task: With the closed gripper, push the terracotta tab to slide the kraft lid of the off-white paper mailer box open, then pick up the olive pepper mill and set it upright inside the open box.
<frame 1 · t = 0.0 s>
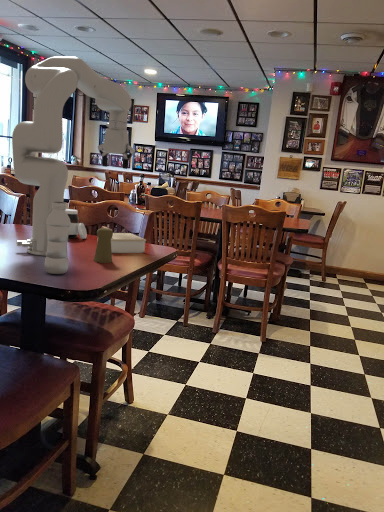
hand: (114, 167, 174), 31 cm above the table, tool pointing down, fingers open, 9 cm apart
olive pepper mill: (103, 261, 134), on the table
spread jar: (72, 238, 171), on the table
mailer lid: (121, 233, 156), point 6 cm above the table, slide at 0.0 cm
plastic bottle: (56, 274, 112), on the table
mailer box: (120, 249, 157), on the table
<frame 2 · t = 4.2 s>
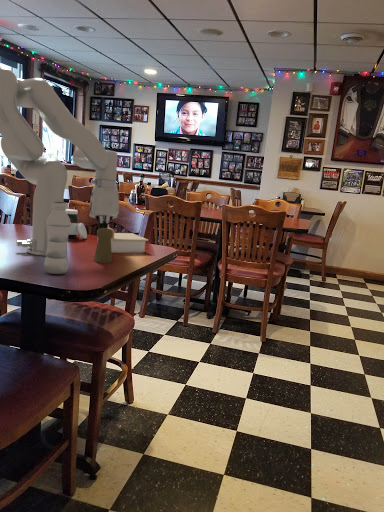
hand: (102, 233, 152), 6 cm above the table, tool pointing down, fingers closed
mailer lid: (123, 233, 157), point 6 cm above the table, slide at 0.9 cm, touching gripper
everything else where it was.
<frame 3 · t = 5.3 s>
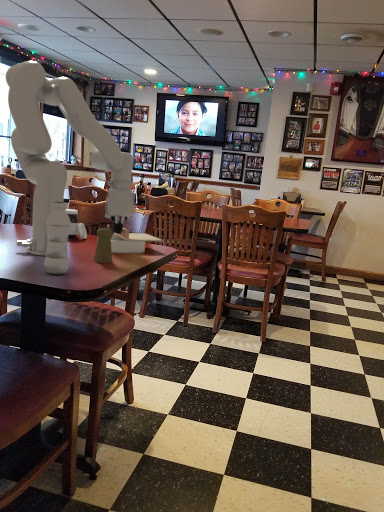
hand: (117, 233, 155), 6 cm above the table, tool pointing down, fingers closed
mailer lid: (137, 233, 160), point 6 cm above the table, slide at 7.0 cm, touching gripper
everything else where it was.
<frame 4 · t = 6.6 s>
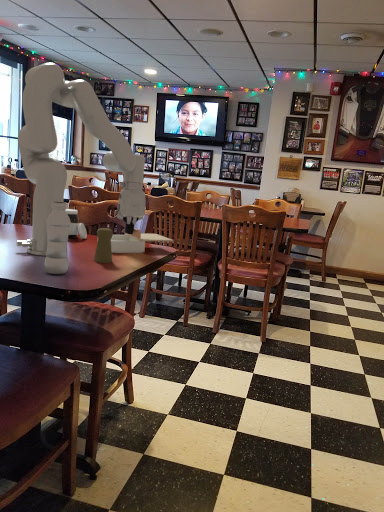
hand: (129, 233, 158), 6 cm above the table, tool pointing down, fingers closed
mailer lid: (148, 233, 163), point 6 cm above the table, slide at 11.9 cm, touching gripper
everything else where it was.
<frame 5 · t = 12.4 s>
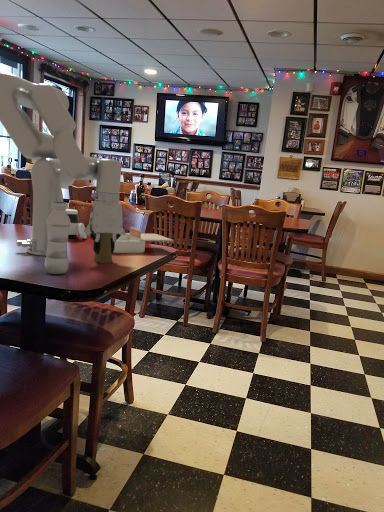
hand: (103, 252, 133), 3 cm above the table, tool pointing down, fingers closed on olive pepper mill, 4 cm apart
olive pepper mill: (103, 261, 134), on the table, touching gripper
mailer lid: (149, 233, 163), point 6 cm above the table, slide at 12.0 cm
everything else where it was.
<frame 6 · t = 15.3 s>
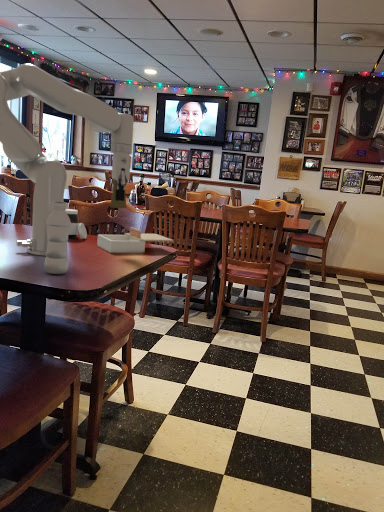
hand: (118, 199, 149), 20 cm above the table, tool pointing down, fingers closed on olive pepper mill, 4 cm apart
olive pepper mill: (118, 207, 149), point 17 cm above the table, touching gripper
everything else where it was.
when the fingers open (5 cm above the table, at t = 18.7 s): olive pepper mill drops 2 cm, resting on mailer box.
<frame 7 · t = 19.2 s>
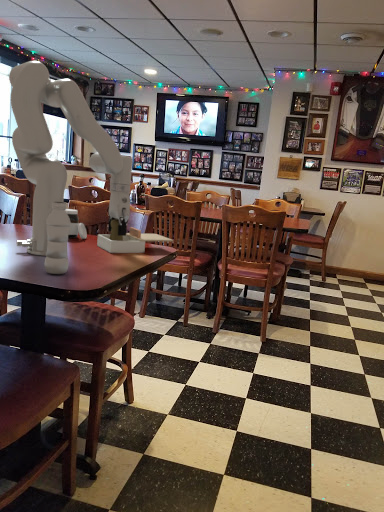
hand: (116, 233, 155), 6 cm above the table, tool pointing down, fingers open, 9 cm apart
olive pepper mill: (115, 248, 156), resting on mailer box
everything else where it was.
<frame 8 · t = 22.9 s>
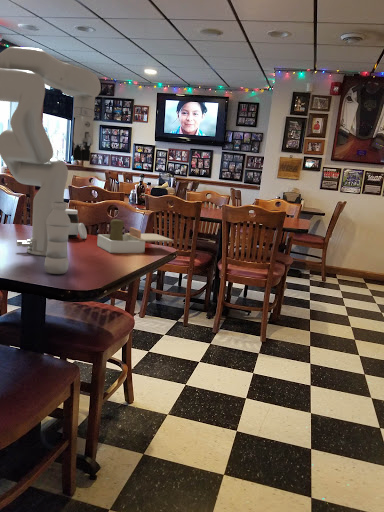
hand: (81, 160, 154), 32 cm above the table, tool pointing down, fingers open, 9 cm apart
nothing on the table moved.
at the end: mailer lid slide at 12.0 cm; olive pepper mill inside the target area on the mailer box (1.9 cm from its centre), point 0.4 cm above the mailer box's base; olive pepper mill tilted 0° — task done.
